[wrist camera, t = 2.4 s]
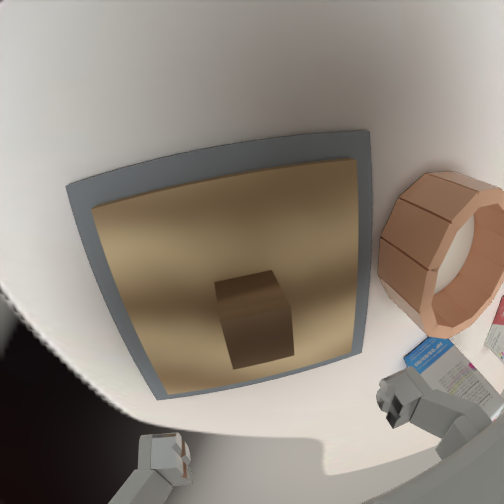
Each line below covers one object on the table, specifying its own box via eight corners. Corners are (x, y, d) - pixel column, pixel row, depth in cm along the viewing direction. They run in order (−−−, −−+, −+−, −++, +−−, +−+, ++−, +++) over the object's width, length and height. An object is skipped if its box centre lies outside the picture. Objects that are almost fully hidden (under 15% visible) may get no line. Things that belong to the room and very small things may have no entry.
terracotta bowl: (380, 177, 16) (434, 198, 12) (478, 169, 18) (523, 184, 13) (373, 318, 21) (406, 359, 17) (462, 283, 22) (496, 309, 18)
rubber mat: (69, 184, 13) (65, 186, 13) (365, 130, 15) (369, 130, 15) (157, 395, 20) (157, 400, 20) (358, 348, 22) (361, 352, 22)
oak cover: (95, 205, 14) (62, 234, 10) (349, 157, 15) (396, 170, 11) (168, 386, 19) (168, 434, 16) (346, 345, 21) (372, 384, 17)
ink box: (400, 358, 24) (481, 467, 11) (438, 327, 24) (526, 423, 11) (412, 388, 28) (472, 475, 15) (443, 363, 28) (509, 442, 14)
